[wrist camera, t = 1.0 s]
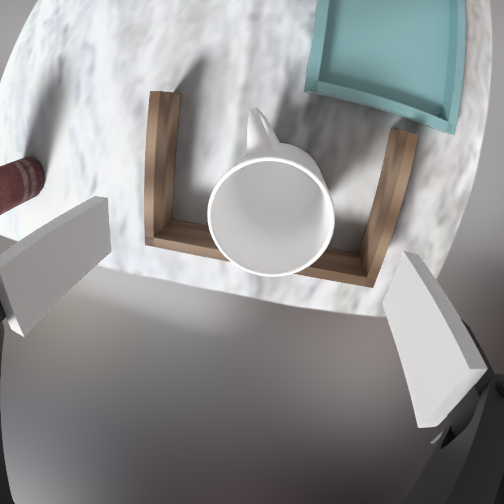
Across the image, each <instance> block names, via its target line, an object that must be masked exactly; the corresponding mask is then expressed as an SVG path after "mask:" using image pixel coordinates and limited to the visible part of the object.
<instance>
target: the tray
mask: <svg viewBox="0 0 504 504" xmlns="http://www.w3.org/2000/svg"><path fill="white" fill-rule="evenodd" d="M465 43H466V9H465V0H317V6H316V14H315V21H314V28H313V36H312V43H311V49H310V56H309V63H308V70H307V76H306V83H305V89H304V92H307V93H313V94H318V95H323V96H327V97H332V98H336V99H340V100H345V101H349V102H353V103H356V104H360V105H364V106H368V107H371V108H375V109H378V110H381V111H385V112H388V113H391V114H394V115H397V116H400V117H403V118H406V119H409V120H412V121H415V122H418V123H420V124H423V125H426V126H428V127H431V128H434V129H436V130H439V131H441V132H444V133H449V134H453V135H455V131H456V125H457V119H458V113H459V107H460V100H461V92H462V84H463V74H464V62H465Z"/></svg>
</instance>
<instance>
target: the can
mask: <svg viewBox="0 0 504 504" xmlns="http://www.w3.org/2000/svg"><path fill="white" fill-rule="evenodd" d="M43 183H44V175H43V170H42V167H41V165H40V163H39V162H38V161H37V160H36V159H34V158H32V157H25V158H22V159H20V160H17V161H14V162H11V163H8V164H6V165H3V166H0V215H1V214H3V213H5V212H7V211H9V210H10V209H12V208H14V207H16V206H18V205H20V204H22V203H24V202H26V201H28V200H30V199H32V198H34V197H36V196H37V195H38V194H39V193H40V191H41V189H42V187H43Z"/></svg>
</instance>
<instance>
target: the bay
mask: <svg viewBox="0 0 504 504" xmlns="http://www.w3.org/2000/svg"><path fill="white" fill-rule="evenodd" d="M180 101H181V93H172V92H163V91H150V98H149V109H148V121H147V134H146V152H145V183H144V224H145V245H148V246H153V247H158V248H163V249H168V250H173V251H178V252H183V253H188V254H193V255H198V256H203V257H208V258H214V259H219V260H224V261H229V260H228V259H227V258H226V257H225V256H224V255H223V254H222V252H221V251H220V250H219V248H218V247H217V245H216V244H215V242H214V240H213V238H212V235H211V233H210V230H209V226H206V225H201V224H195V223H189V222H183V221H177V220H172V217H173V190H174V171H175V156H176V143H177V131H178V120H179V111H180ZM418 136H419V135H416V134H414V133H411V132H407V131H402V130H397V129H392V128H391V129H390V134H389V139H388V144H387V149H386V153H385V158H384V162H383V166H382V171H381V175H380V179H379V183H378V187H377V191H376V195H375V198H374V202H373V206H372V209H371V213H370V217H369V220H368V224H367V227H366V230H365V234H364V237H363V240H362V243H361V247H360V250H359V253H358V254H356V253H351V252H346V251H341V250H336V249H331V248H326V250H325V251H324V252H323V254H322V255H321V256H320V257H319V258H318V259H317V260H316V261H315V262H314V263H312V264H311V265H310V266H308V267H307V268H305V269H303V270H301V271H299V272H296V273H293V274H298V275H304V276H309V277H315V278H320V279H326V280H331V281H337V282H343V283H348V284H354V285H360V286H365V287H371V288H373V286H374V284H375V281H376V279H377V276H378V274H379V271H380V268H381V265H382V263H383V260H384V257H385V254H386V252H387V249H388V246H389V243H390V240H391V237H392V234H393V231H394V228H395V225H396V221H397V218H398V215H399V212H400V208H401V205H402V201H403V198H404V194H405V191H406V187H407V183H408V179H409V176H410V172H411V168H412V163H413V159H414V155H415V150H416V146H417V141H418ZM229 262H231V261H229Z"/></svg>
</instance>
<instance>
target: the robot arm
mask: <svg viewBox="0 0 504 504" xmlns="http://www.w3.org/2000/svg"><path fill="white" fill-rule="evenodd" d="M110 252H111V242H110V229H109V214H108V198H104V197H97V196H95V197H93V198H91V199H89V200H87V201H85V202H83V203H82V204H80V205H78V206H76V207H74V208H73V209H71V210H69V211H67V212H66V213H64V214H62V215H60V216H59V217H57V218H55V219H54V220H52V221H50V222H49V223H47V224H45V225H44V226H42V227H41V228H39V229H37V230H36V231H34V232H33V233H31V234H29V235H28V236H26V237H25V238H23V239H22V240H20V241H19V242H17V243H16V244H14V245H13V246H11V247H10V248H9V249H7V250H6V251H4V252H3V253H1V254H0V377H1V358H2V347H3V337H4V326H3V323H2V320H4V319H5V318H6V317H7V320H8V322H9V324H10V327H11V329H12V330H13V331H15V332H17V333H18V334H20V335H22V336H23V337H24V336H25V335H26V334H27V333H28V332H29V331H30V330H31V329H32V328H33V327H34V326H35V324H36V323H37V322H38V321H39V320H40V319H41V318H42V317H43V316H44V315H45V314H46V313H47V312H48V311H49V310H50V309H51V308H52V307H53V306H54V305H55V304H56V303H57V302H58V301H59V300H60V299H61V298H62V297H63V296H64V295H65V294H66V293H67V292H68V291H69V290H70V289H71V288H72V287H73V286H74V285H75V284H76V283H77V282H78V281H79V280H81V279H82V278H83V277H84V276H85V275H86V274H87V273H88V272H89V271H90V270H91V269H92V268H93V267H94V266H96V265H97V264H98V263H99V262H100V261H101V260H102V259H103V258H105V257H106V256H107V255H108V254H109V253H110ZM382 305H383V308H384V311H385V313H386V316H387V319H388V322H389V325H390V328H391V331H392V334H393V337H394V340H395V343H396V347H397V349H398V353H399V356H400V359H401V363H402V366H403V370H404V373H405V377H406V380H407V384H408V387H409V391H410V395H411V399H412V403H413V407H414V411H415V416H416V420H417V425H418V428H423V427H434V426H437V425H438V424H439V423H440V422H441V421H442V420H443V419H444V418H445V417H446V416H447V415H448V419H449V422H450V424H449V425H448V426H447V427H446V428H445V429H444V430H442V431H441V432H440V433H439V434H438V435H437V436H436V437H435V438H434V439H433V440H432V441H431V443H432V444H433V443H434V442H436V441H437V440H438V439H439V441H438V443H437V445H436V447H435V449H434V451H433V453H432V454H431V456H430V458H429V460H428V462H427V463H426V465H425V467H424V469H423V470H422V472H421V474H420V475H419V477H418V479H417V480H416V482H415V484H414V485H413V487H412V488H411V490H410V491H409V493H408V494H407V496H406V497H405V499H404V500H403V502H402V503H401V504H504V375H502V374H496V375H495V374H494V372H493V370H492V368H491V366H490V364H489V362H488V360H487V358H486V356H485V354H484V352H483V350H482V348H480V345H479V343H478V342H477V340H476V339H475V336H474V334H473V332H472V331H471V329H470V327H469V326H468V325H467V324H466V323H465V322H464V321H463V320H462V319H461V318H460V317H459V315H458V314H457V312H456V311H455V309H454V307H453V306H452V304H451V302H450V301H449V299H448V298H447V296H446V295H445V293H444V291H443V290H442V288H441V287H440V285H439V284H438V282H437V281H436V279H435V278H434V276H433V275H432V273H431V272H430V271H429V269H428V268H427V266H426V265H425V263H424V262H423V261H422V259H421V258H420V256H419V255H418V254H414V253H409V252H405V251H403V254H402V256H401V259H400V262H399V264H398V267H397V269H396V272H395V275H394V277H393V279H392V282H391V284H390V287H389V289H388V292H387V294H386V296H385V298H384V301H383V303H382ZM0 504H15V503H14V501H13V499H12V496H11V492H10V487H9V482H8V477H7V472H6V465H5V459H4V452H3V443H2V432H1V413H0Z"/></svg>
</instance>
